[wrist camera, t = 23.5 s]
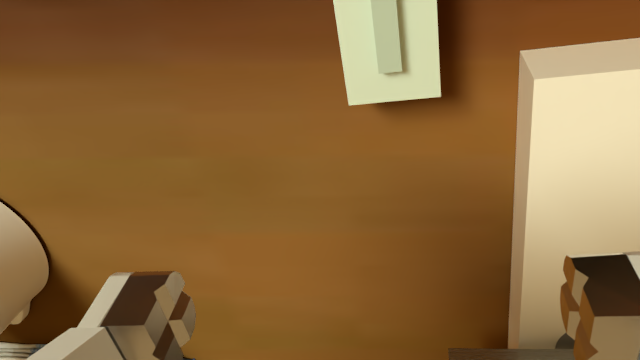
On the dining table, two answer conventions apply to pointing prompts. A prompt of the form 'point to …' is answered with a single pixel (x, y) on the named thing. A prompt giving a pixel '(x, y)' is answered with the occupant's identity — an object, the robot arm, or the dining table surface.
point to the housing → (571, 175)
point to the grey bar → (510, 354)
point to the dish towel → (21, 351)
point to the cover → (389, 49)
